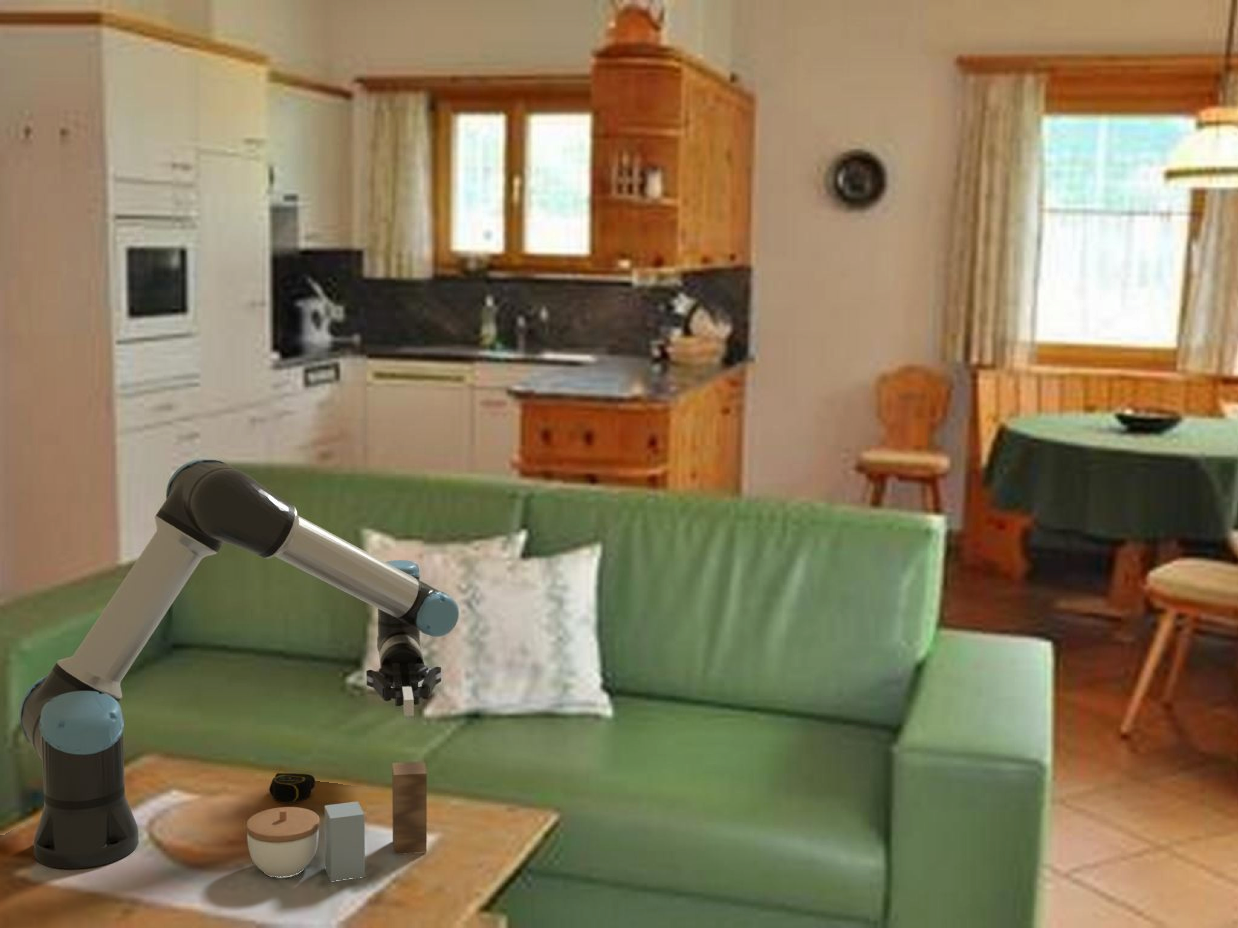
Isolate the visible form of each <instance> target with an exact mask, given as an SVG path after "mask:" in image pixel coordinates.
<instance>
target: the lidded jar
mask: <svg viewBox="0 0 1238 928" xmlns="http://www.w3.org/2000/svg"><path fill="white" fill-rule="evenodd" d="M320 825H321V824H320V817H319V815H318V813H316V812H315V811H313V810H311V809H308V808H303V807H297V806H283V807H282V806H280V807H275V808H274V807H273V808H269V809H266V810H265V809H264V810H262V811H260V812H259V811H258V812H256V813H255V814H253V815H252V816H250V818H248V819H247V821H246V826H245V830H246V835H247V836H246V838H247V847H248V852H249V855H250V858H251V860H252V862H253V864H254V865H255V866H256V867H257V868H258V869H259V870H260V871H261V872H265V874H267V875H268V876H272V877H275V876H276V877H277V876H278V877H280V876H281V877H283V876H290V875H294V874H296V873H299V872H300V871H302V870H303V869H304V868H306V867H308V865H310V863H312V861H313V859H314V857H315V855H316V852H317V849H318V848H319V847H318V845H319V838H320V837H319V836H320ZM304 870H305V869H304ZM265 874H264V875H265ZM268 876H267V877H268Z"/></svg>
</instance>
